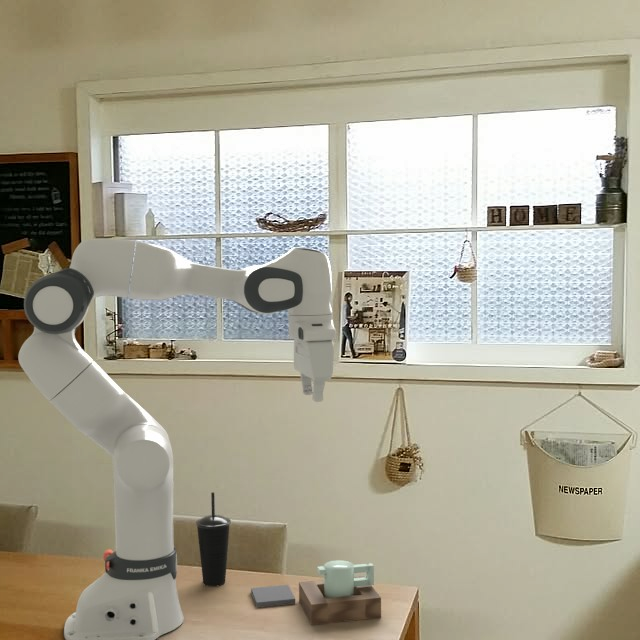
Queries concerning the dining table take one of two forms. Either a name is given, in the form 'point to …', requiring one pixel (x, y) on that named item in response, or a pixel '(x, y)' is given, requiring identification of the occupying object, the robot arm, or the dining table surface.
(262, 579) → the dining table surface
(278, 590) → the mat
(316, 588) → the stand
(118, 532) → the robot arm
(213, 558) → the drinking cup
